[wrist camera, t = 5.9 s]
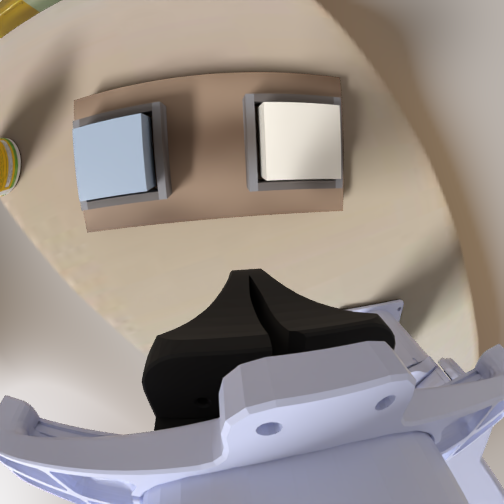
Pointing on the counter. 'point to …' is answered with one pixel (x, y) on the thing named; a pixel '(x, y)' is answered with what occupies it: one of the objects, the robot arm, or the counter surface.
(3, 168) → the supplement bottle
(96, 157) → the blue key
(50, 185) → the counter surface
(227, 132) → the key board
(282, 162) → the cream key
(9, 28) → the medication box
